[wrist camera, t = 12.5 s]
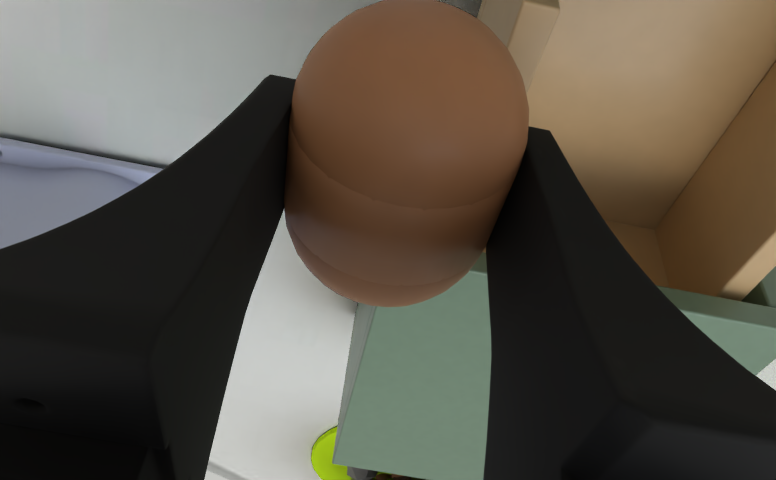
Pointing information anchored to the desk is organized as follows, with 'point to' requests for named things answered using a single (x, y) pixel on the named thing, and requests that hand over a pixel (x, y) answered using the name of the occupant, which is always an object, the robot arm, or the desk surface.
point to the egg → (402, 150)
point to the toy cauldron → (340, 476)
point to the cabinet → (477, 373)
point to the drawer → (661, 125)
